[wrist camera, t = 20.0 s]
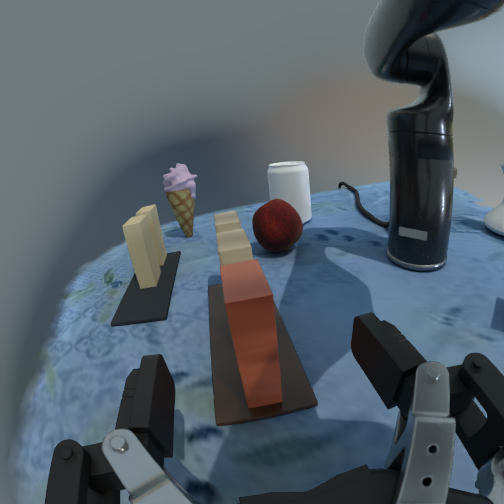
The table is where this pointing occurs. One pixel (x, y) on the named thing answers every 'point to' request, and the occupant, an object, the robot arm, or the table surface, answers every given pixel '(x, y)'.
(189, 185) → the ice cream cone
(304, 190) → the beverage can
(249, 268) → the orange rectangular block
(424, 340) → the table surface
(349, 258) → the table surface
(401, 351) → the robot arm
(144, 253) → the back word
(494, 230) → the flower in vase
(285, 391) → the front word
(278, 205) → the apple
